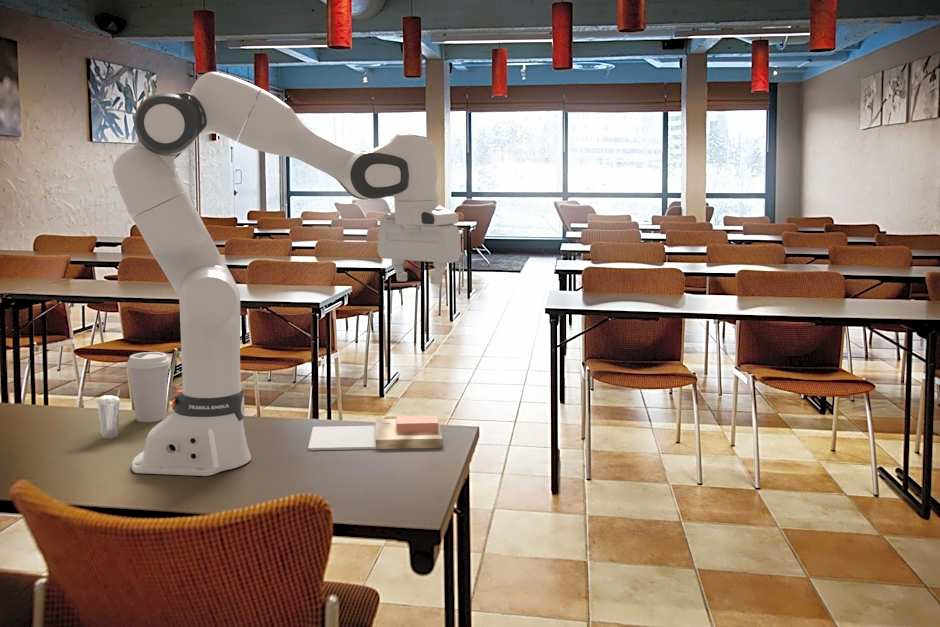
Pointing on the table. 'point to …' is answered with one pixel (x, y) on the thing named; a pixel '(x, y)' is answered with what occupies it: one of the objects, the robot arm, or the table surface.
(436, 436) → the riser
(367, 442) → the mat
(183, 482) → the table surface
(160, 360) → the coffee cup
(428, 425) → the pink rectangular block
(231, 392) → the robot arm
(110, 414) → the milkshake
